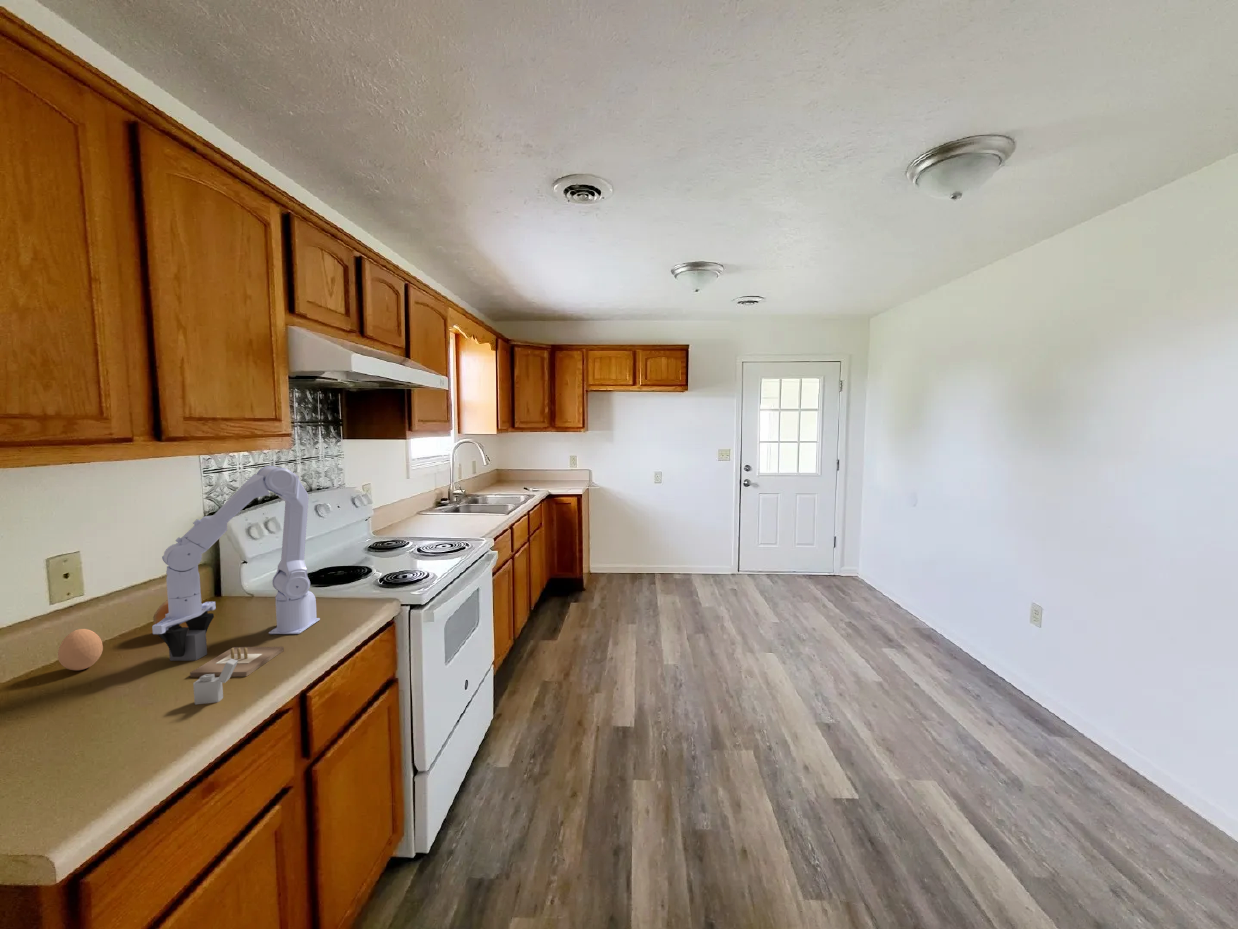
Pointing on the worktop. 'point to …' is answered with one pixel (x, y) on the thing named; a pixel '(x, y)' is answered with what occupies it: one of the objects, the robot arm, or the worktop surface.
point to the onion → (161, 613)
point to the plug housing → (193, 646)
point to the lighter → (212, 685)
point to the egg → (80, 649)
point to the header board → (239, 661)
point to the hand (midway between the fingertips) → (188, 650)
